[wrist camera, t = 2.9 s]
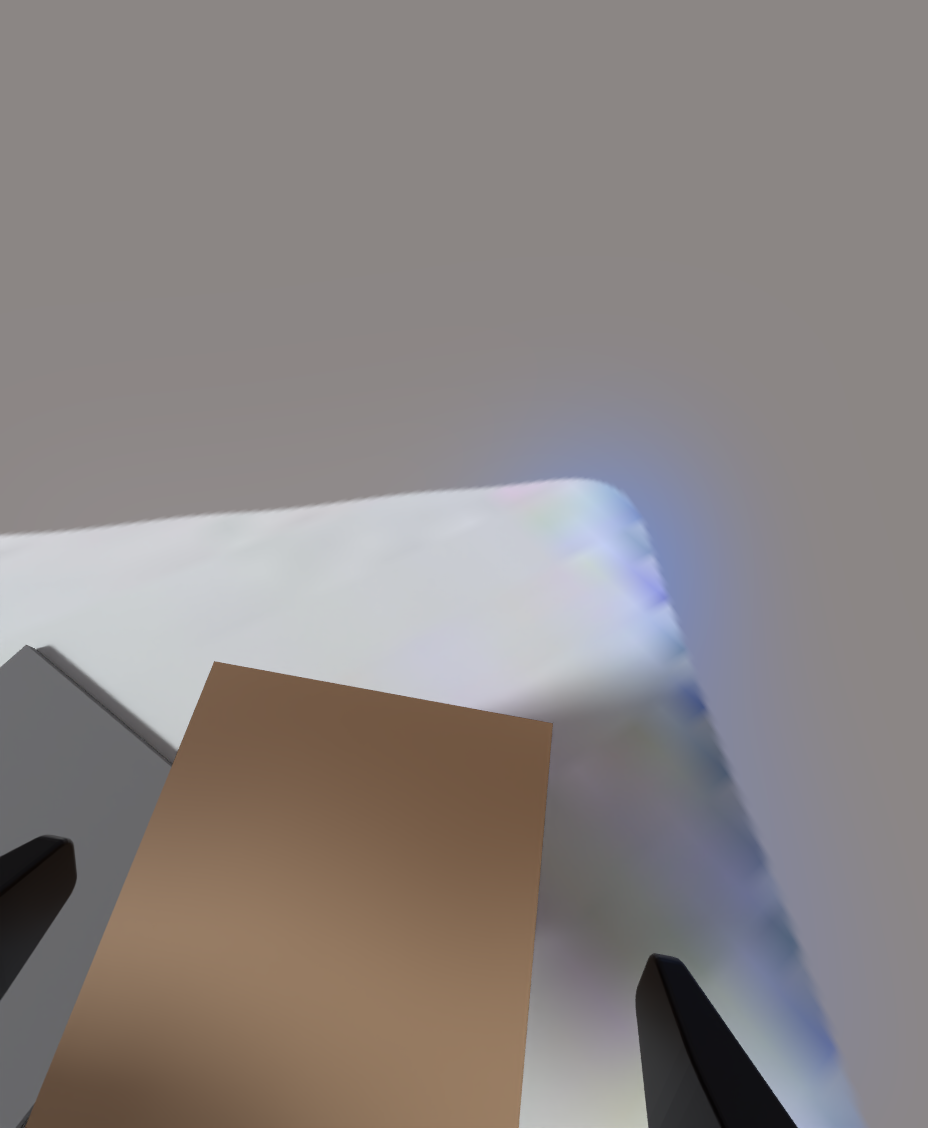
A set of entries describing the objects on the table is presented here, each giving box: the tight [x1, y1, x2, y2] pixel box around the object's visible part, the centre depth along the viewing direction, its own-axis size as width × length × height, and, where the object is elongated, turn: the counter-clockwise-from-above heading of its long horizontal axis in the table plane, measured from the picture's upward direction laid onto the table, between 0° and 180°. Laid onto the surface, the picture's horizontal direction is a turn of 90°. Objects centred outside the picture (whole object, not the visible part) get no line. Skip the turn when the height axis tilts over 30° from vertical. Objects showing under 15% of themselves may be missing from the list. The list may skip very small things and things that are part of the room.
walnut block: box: [25, 661, 553, 1128], centre depth 10 cm, size 4×4×11 cm
